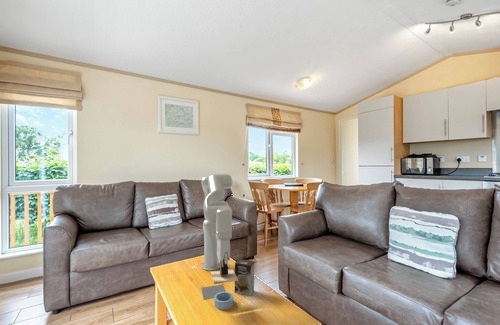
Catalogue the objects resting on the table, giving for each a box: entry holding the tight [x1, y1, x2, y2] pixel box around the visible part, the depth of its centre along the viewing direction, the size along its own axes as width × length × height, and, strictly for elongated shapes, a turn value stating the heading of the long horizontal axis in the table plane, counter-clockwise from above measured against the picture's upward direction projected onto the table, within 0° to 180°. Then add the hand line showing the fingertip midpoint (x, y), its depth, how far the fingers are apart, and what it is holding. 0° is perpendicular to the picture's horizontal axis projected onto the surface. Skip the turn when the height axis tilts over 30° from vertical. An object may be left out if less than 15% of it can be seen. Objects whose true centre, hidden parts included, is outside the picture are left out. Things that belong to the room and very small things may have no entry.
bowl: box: [213, 290, 234, 311], centre depth 114 cm, size 9×9×4 cm
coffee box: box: [234, 258, 255, 296], centre depth 125 cm, size 9×6×16 cm
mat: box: [201, 283, 227, 301], centre depth 124 cm, size 12×12×1 cm
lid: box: [210, 261, 238, 285], centre depth 114 cm, size 11×11×7 cm
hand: (223, 272), depth 114 cm, fingers closed on lid, 3 cm apart
